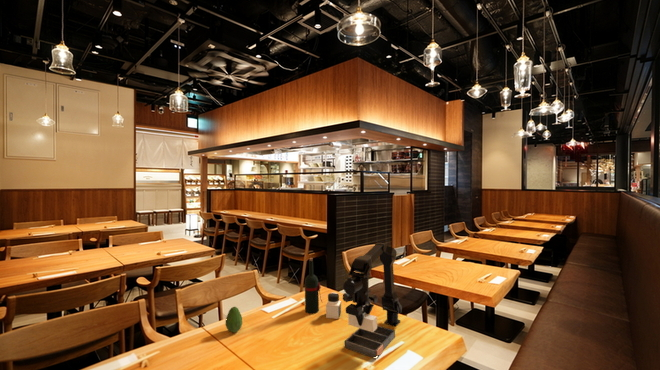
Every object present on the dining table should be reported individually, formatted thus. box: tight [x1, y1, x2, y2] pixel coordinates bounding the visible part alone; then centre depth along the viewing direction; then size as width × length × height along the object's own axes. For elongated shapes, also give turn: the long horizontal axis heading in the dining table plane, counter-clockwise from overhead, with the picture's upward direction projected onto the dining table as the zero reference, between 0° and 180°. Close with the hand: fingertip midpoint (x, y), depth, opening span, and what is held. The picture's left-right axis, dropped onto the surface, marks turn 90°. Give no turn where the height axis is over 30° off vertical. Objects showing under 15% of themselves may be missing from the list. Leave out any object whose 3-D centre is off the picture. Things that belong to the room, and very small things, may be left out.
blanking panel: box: [347, 313, 378, 332], centre depth 125 cm, size 4×12×5 cm, turn 55°
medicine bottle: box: [325, 292, 342, 320], centre depth 157 cm, size 7×7×12 cm
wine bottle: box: [304, 257, 323, 315], centre depth 164 cm, size 8×10×30 cm
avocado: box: [225, 306, 243, 333], centre depth 142 cm, size 8×8×12 cm
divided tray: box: [343, 325, 396, 359], centre depth 130 cm, size 20×16×3 cm
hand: (362, 323), depth 125 cm, fingers closed on blanking panel, 4 cm apart
